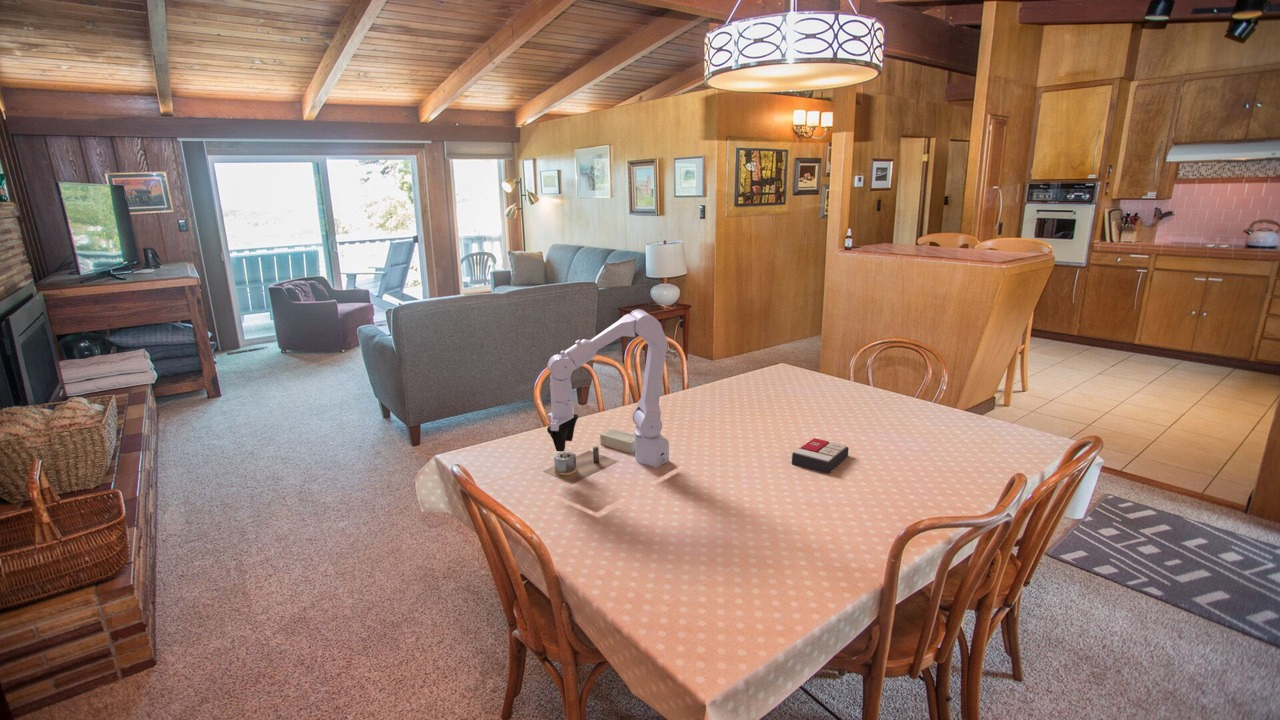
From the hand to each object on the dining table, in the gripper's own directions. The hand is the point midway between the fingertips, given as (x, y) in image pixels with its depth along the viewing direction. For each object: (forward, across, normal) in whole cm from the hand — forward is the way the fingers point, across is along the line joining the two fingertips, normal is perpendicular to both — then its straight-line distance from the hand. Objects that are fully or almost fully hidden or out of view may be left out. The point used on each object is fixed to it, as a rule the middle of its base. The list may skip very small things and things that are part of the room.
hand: (564, 445), depth 171 cm
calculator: (+9, -20, +70) cm, 73 cm away
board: (+8, -3, +4) cm, 10 cm away
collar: (+7, 0, 0) cm, 7 cm away
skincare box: (+6, -22, +6) cm, 24 cm away
